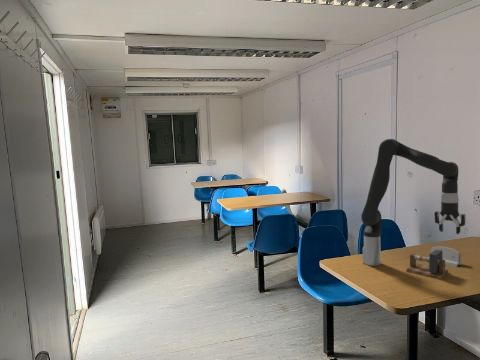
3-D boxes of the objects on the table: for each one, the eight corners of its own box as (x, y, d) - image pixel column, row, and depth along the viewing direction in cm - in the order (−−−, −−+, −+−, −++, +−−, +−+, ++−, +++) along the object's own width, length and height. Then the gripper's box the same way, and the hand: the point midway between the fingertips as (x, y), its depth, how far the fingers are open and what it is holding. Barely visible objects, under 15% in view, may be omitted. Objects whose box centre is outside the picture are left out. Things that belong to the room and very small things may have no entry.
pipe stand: (406, 271, 190) (406, 256, 189) (415, 265, 198) (415, 251, 197) (440, 279, 177) (440, 263, 177) (448, 272, 185) (448, 257, 184)
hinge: (426, 260, 206) (429, 243, 207) (430, 260, 208) (433, 244, 209) (457, 267, 192) (460, 249, 193) (460, 267, 195) (463, 250, 196)
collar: (429, 272, 182) (429, 254, 181) (436, 267, 189) (436, 249, 188) (435, 273, 180) (435, 255, 179) (442, 268, 186) (442, 250, 185)
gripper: (431, 201, 179) (431, 232, 180) (463, 203, 168) (463, 236, 169) (437, 199, 183) (437, 229, 185) (468, 201, 173) (467, 233, 174)
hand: (449, 232), depth 177 cm, fingers open, 7 cm apart
